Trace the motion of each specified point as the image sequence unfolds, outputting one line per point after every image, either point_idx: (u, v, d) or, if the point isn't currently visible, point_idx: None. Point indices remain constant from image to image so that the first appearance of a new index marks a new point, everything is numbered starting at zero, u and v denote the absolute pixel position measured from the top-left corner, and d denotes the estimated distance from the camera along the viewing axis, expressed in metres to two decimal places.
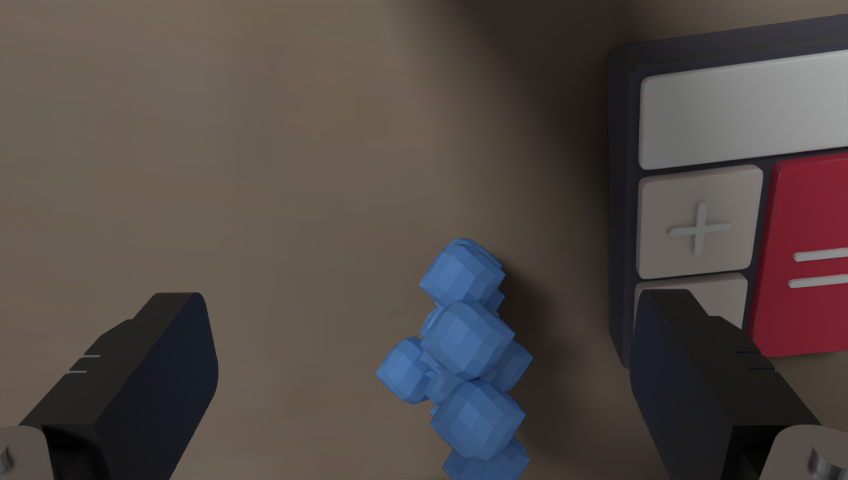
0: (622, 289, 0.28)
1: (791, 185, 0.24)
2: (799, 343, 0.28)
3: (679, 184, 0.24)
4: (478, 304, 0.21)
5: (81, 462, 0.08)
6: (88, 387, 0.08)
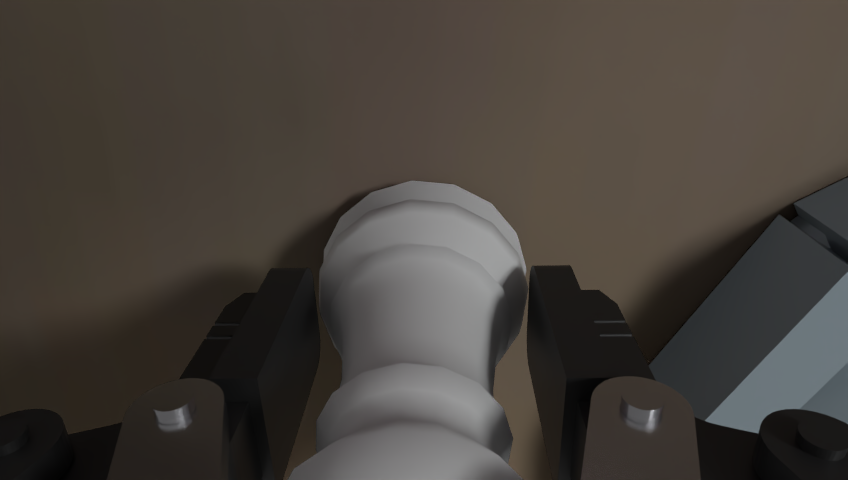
0: None
1: None
2: None
3: None
4: None
5: (244, 413, 0.08)
6: (240, 348, 0.09)
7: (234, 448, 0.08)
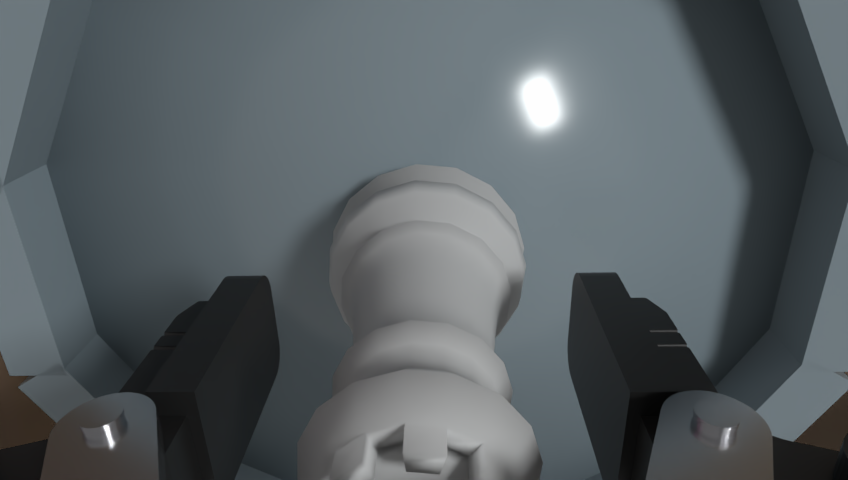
0: None
1: None
2: None
3: None
4: None
5: (182, 428, 0.08)
6: (182, 359, 0.09)
7: (167, 464, 0.08)
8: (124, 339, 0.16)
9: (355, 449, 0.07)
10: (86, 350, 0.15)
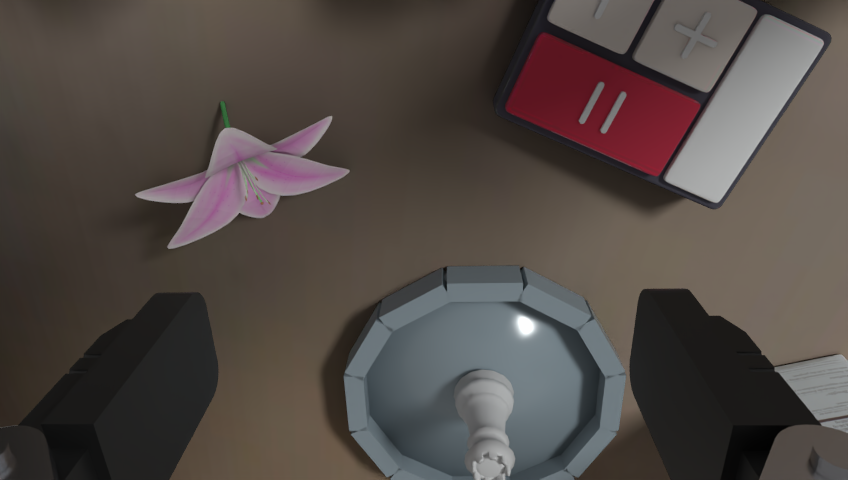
0: None
1: (683, 106, 0.34)
2: (536, 73, 0.33)
3: (739, 35, 0.32)
4: None
5: (81, 462, 0.08)
6: (88, 387, 0.08)
7: None
8: (378, 417, 0.47)
9: (480, 455, 0.38)
10: (369, 421, 0.46)
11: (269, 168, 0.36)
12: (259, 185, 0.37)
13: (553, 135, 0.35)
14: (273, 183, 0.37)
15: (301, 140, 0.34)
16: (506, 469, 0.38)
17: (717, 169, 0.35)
